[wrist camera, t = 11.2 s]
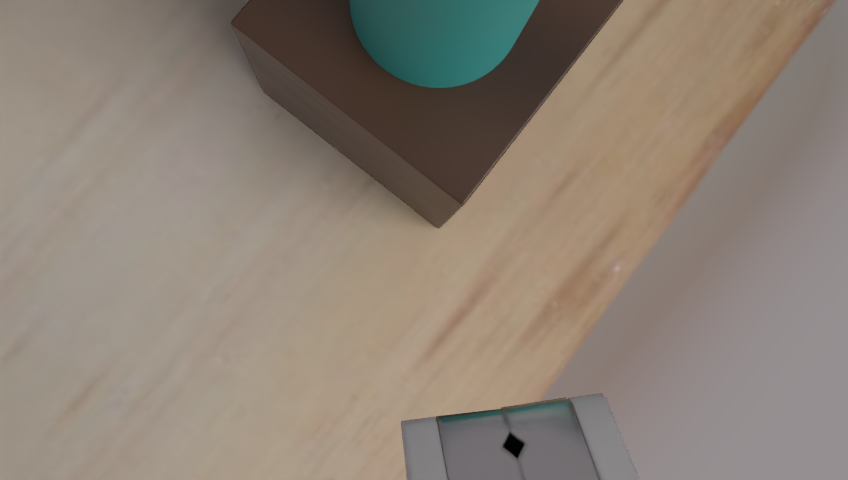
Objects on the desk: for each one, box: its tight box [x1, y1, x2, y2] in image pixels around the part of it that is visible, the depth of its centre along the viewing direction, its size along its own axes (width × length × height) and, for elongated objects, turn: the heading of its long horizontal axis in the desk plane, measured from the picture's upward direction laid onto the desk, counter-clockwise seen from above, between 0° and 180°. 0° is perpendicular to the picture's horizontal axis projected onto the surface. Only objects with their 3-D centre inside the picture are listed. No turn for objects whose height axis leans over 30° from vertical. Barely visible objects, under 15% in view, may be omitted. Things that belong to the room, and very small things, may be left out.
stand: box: [231, 0, 623, 228], centre depth 32 cm, size 10×10×9 cm
